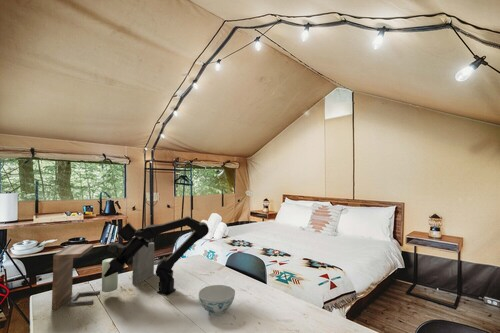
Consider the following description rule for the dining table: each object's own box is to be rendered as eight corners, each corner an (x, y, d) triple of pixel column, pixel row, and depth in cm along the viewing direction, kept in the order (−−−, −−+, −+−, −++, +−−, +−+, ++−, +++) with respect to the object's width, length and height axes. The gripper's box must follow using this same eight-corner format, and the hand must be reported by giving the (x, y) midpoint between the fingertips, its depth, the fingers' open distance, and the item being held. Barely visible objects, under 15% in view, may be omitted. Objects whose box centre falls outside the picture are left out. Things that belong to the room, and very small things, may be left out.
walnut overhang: (101, 290, 127) (103, 243, 128) (90, 306, 111) (91, 253, 112) (68, 293, 124) (69, 245, 124) (51, 310, 108) (53, 255, 109)
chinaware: (192, 309, 110) (192, 290, 110) (222, 299, 119) (222, 282, 119) (209, 325, 98) (209, 304, 98) (242, 313, 107) (242, 294, 108)
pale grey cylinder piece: (119, 289, 120) (120, 260, 121) (104, 293, 116) (104, 263, 116) (114, 284, 125) (115, 257, 125) (99, 288, 121) (100, 260, 121)
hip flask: (136, 285, 134) (137, 245, 134) (129, 284, 135) (130, 244, 135) (154, 273, 149) (155, 238, 150) (148, 273, 150) (149, 237, 151)
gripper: (124, 231, 131) (99, 255, 128) (114, 241, 113) (85, 269, 110) (141, 246, 133) (116, 270, 130) (134, 258, 115) (105, 286, 112)
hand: (106, 273), depth 120 cm, fingers closed on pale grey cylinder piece, 6 cm apart
